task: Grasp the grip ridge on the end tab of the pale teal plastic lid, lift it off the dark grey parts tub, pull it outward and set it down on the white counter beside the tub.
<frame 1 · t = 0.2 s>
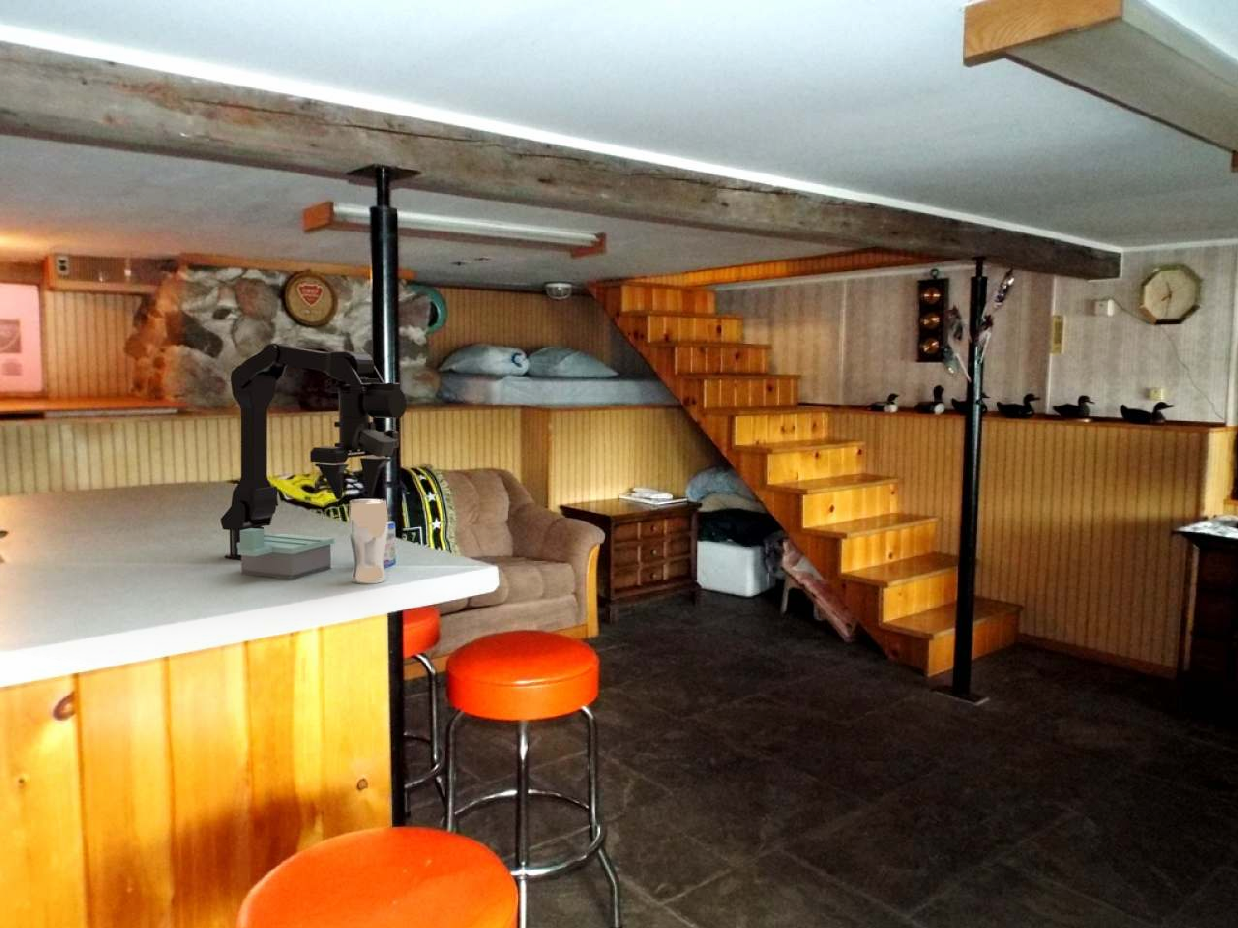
hand: (354, 496, 180), 14 cm above the table, tool pointing down, fingers open, 9 cm apart
medicine box: (377, 567, 184), on the table
tub: (286, 571, 178), on the table
beer glass: (369, 581, 172), on the table
lid: (286, 545, 178), point 5 cm above the table, touching tub
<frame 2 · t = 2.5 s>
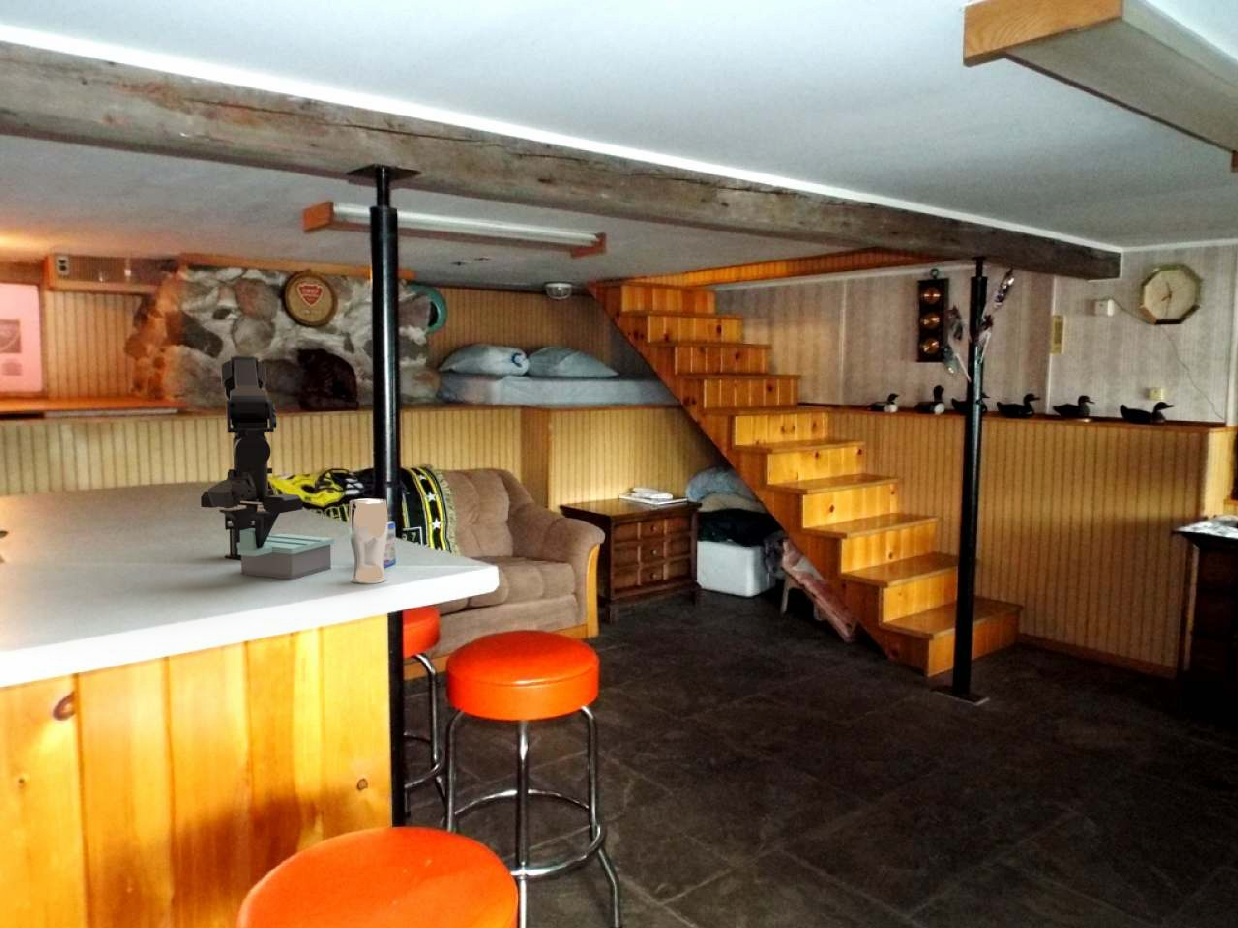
hand: (252, 547, 169), 6 cm above the table, tool pointing down, fingers closed on lid, 3 cm apart
lid: (286, 545, 178), point 5 cm above the table, touching gripper, tub
everything else where it was.
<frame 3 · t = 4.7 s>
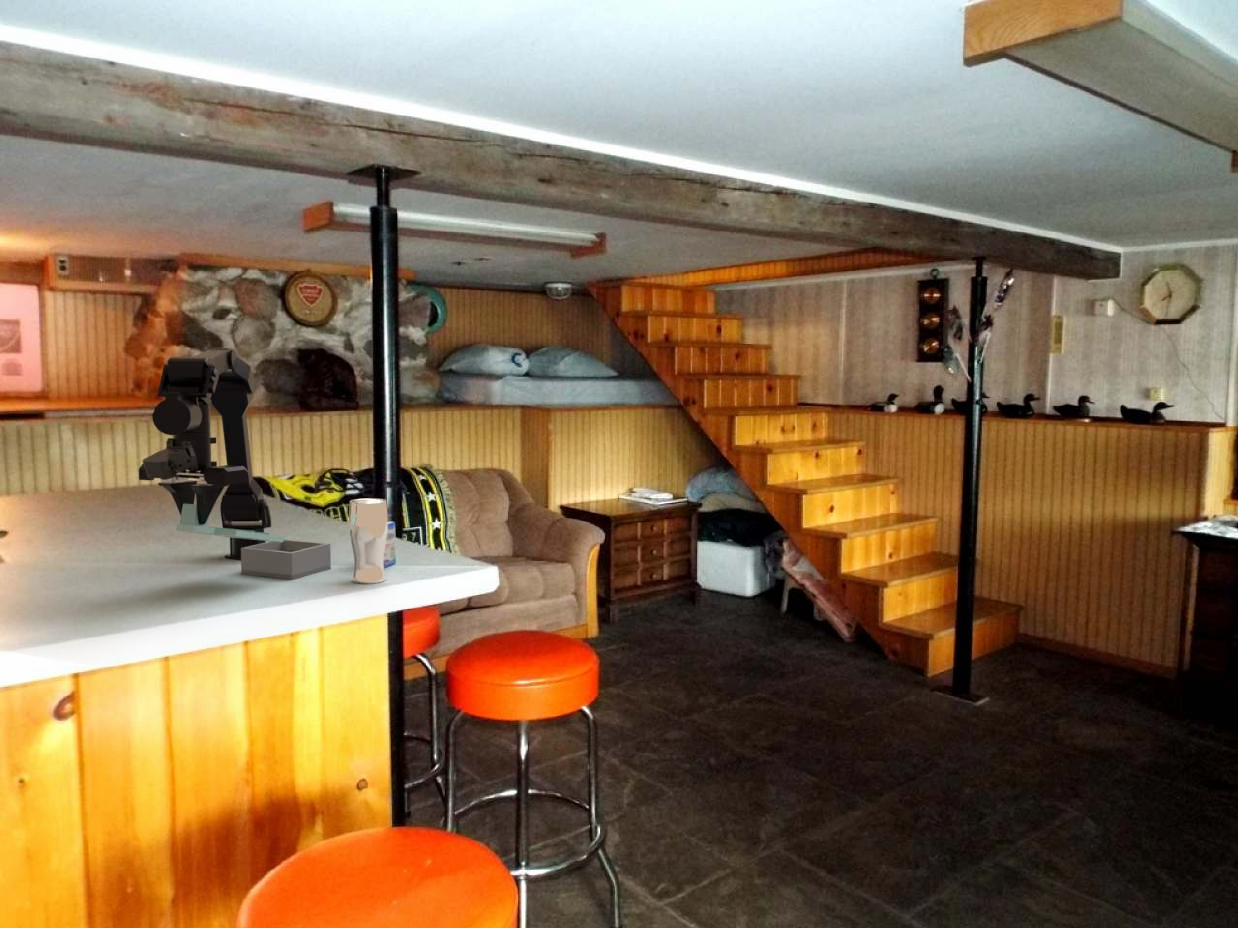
hand: (194, 523, 156), 13 cm above the table, tool pointing down, fingers closed on lid, 3 cm apart
lid: (231, 536, 164), point 9 cm above the table, tilted 15°, touching gripper
everything else where it was.
when the fingers open (3 cm above the table, at t = 7.1 s): lid stays where it is, on the table.
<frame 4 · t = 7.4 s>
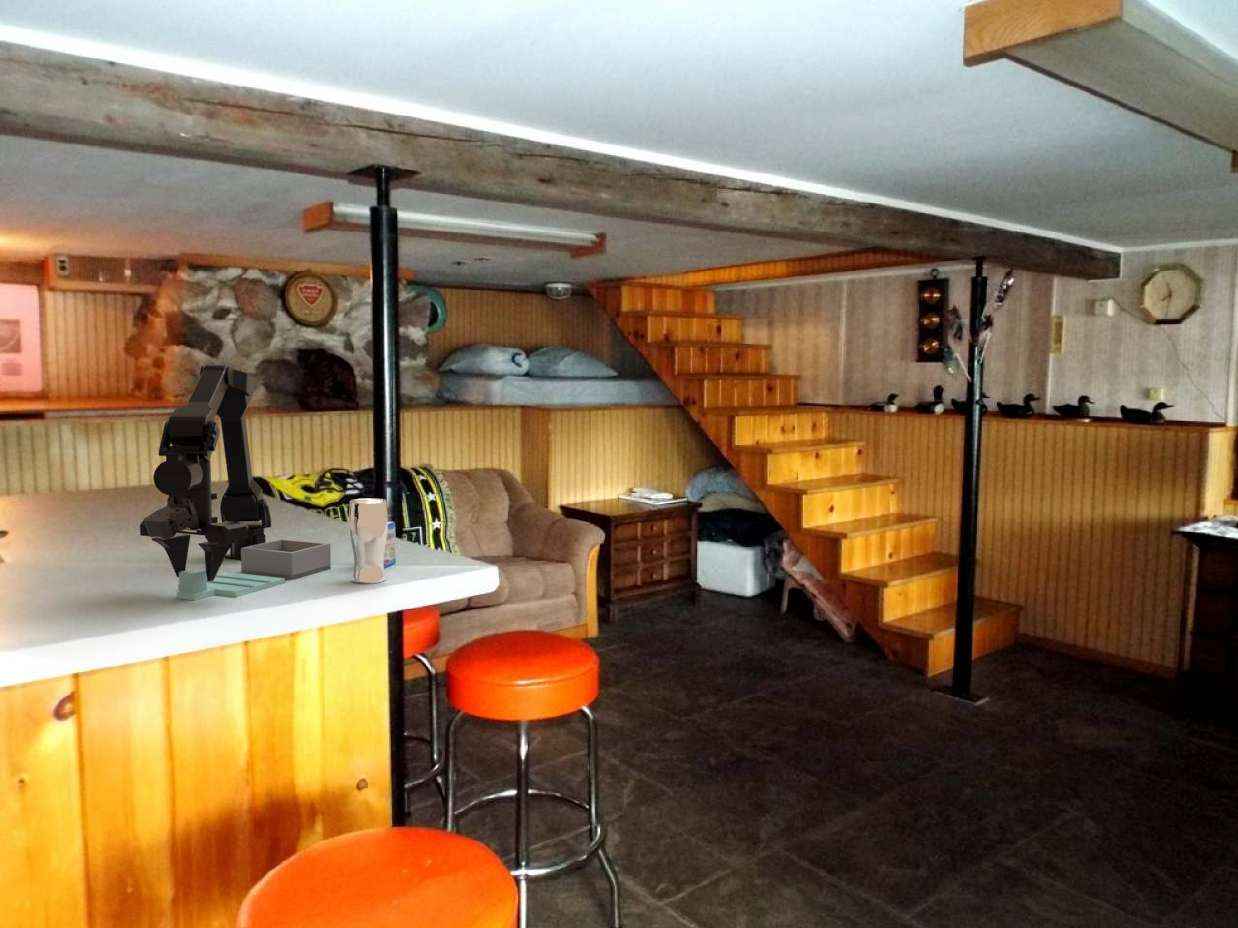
hand: (195, 579, 157), 3 cm above the table, tool pointing down, fingers open, 6 cm apart
lid: (232, 586, 165), on the table
everything else where it was.
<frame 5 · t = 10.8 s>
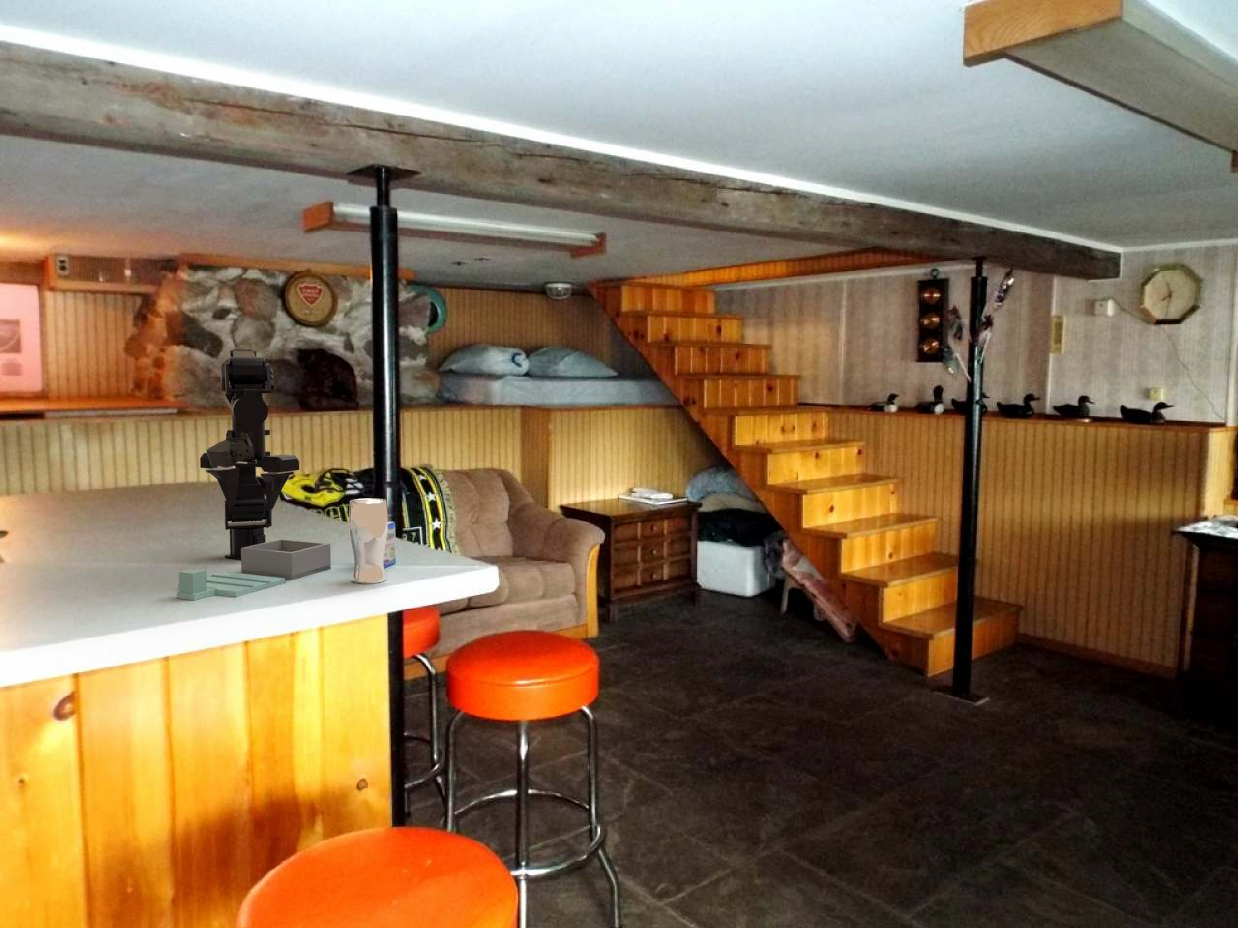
hand: (250, 507, 173), 13 cm above the table, tool pointing down, fingers open, 9 cm apart
nothing on the table moved.
at the end: lid inside the target area (0.9 cm from its centre), on the table; lid touching table; the gripper is holding nothing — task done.
